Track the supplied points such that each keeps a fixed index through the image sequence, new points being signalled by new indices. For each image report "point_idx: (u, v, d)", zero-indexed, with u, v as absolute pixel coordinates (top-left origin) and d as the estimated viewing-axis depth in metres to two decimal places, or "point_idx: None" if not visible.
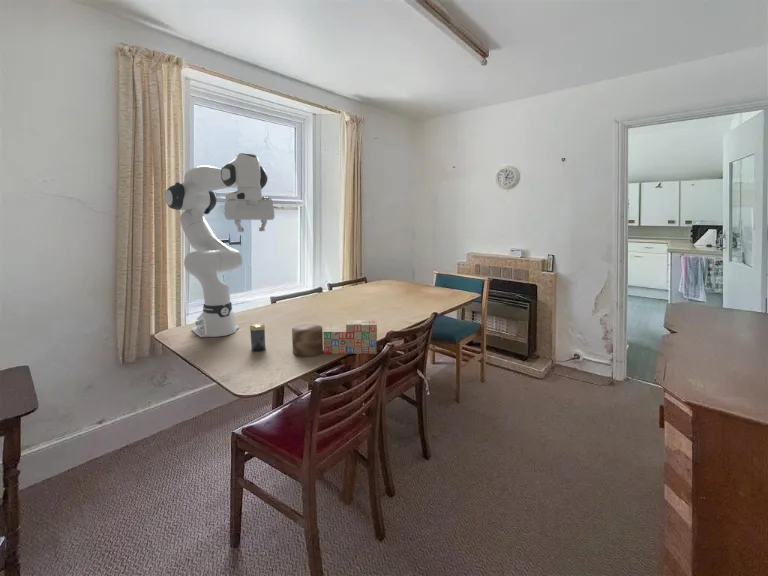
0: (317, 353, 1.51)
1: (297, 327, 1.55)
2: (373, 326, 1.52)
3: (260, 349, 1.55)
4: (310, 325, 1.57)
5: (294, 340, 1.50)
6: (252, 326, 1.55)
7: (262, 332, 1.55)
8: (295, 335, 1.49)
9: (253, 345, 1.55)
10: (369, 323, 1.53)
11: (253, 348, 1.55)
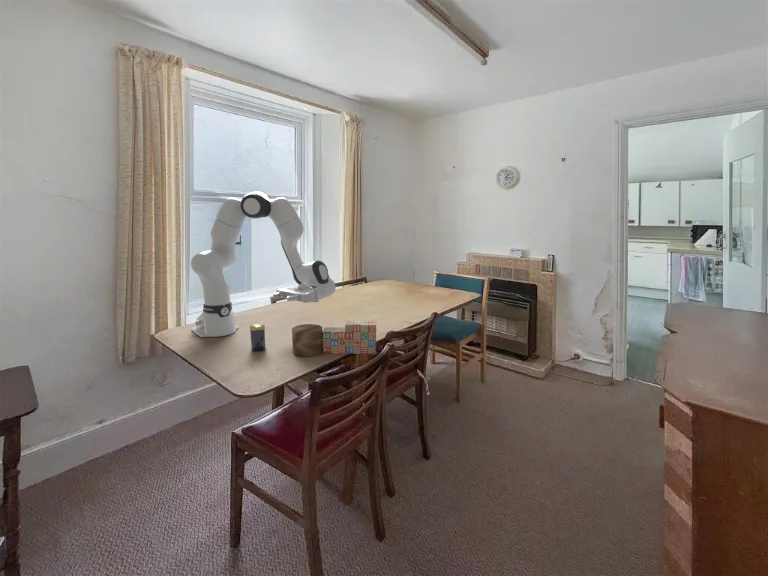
0: (317, 353, 1.51)
1: (297, 327, 1.55)
2: (372, 326, 1.52)
3: (260, 349, 1.55)
4: (310, 325, 1.57)
5: (294, 340, 1.50)
6: (252, 326, 1.55)
7: (262, 332, 1.55)
8: (295, 335, 1.49)
9: (253, 345, 1.55)
10: (368, 323, 1.53)
11: (253, 348, 1.55)
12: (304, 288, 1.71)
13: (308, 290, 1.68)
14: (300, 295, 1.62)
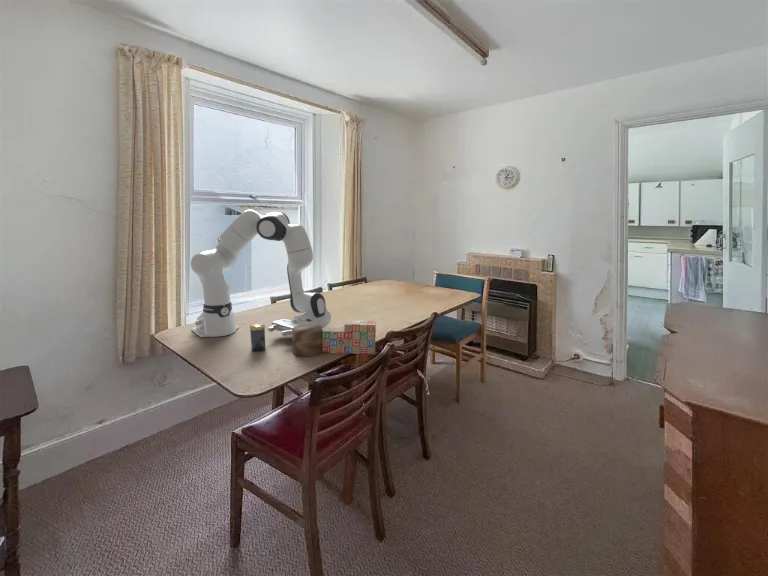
0: (317, 353, 1.51)
1: (297, 327, 1.55)
2: (371, 326, 1.52)
3: (260, 349, 1.55)
4: (310, 325, 1.57)
5: (294, 340, 1.50)
6: (252, 326, 1.55)
7: (262, 332, 1.55)
8: (295, 335, 1.49)
9: (253, 345, 1.55)
10: (367, 323, 1.53)
11: (253, 348, 1.55)
12: (299, 321, 1.71)
13: (303, 324, 1.68)
14: None
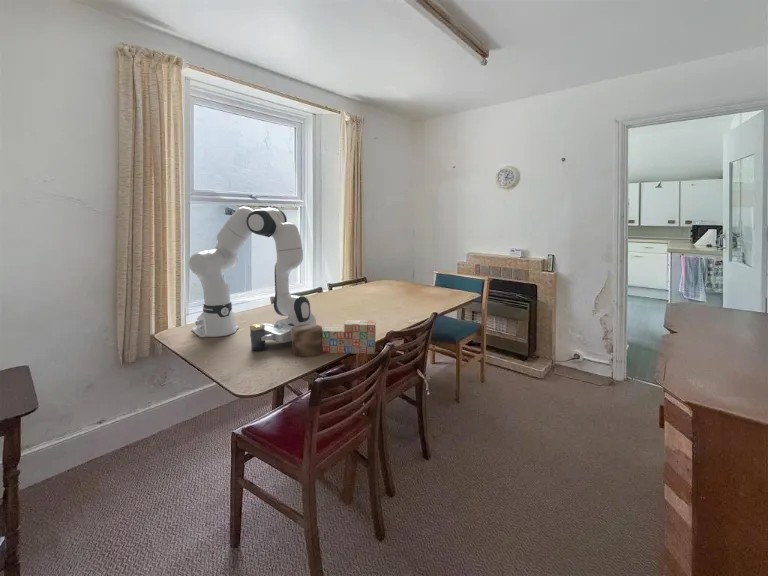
0: (317, 353, 1.51)
1: (297, 327, 1.55)
2: (371, 326, 1.52)
3: (260, 349, 1.55)
4: (310, 325, 1.57)
5: (294, 340, 1.50)
6: (252, 326, 1.55)
7: (262, 332, 1.55)
8: (295, 335, 1.49)
9: (253, 345, 1.55)
10: (367, 323, 1.53)
11: (253, 348, 1.55)
12: (281, 326, 1.63)
13: (285, 328, 1.61)
14: (276, 335, 1.55)
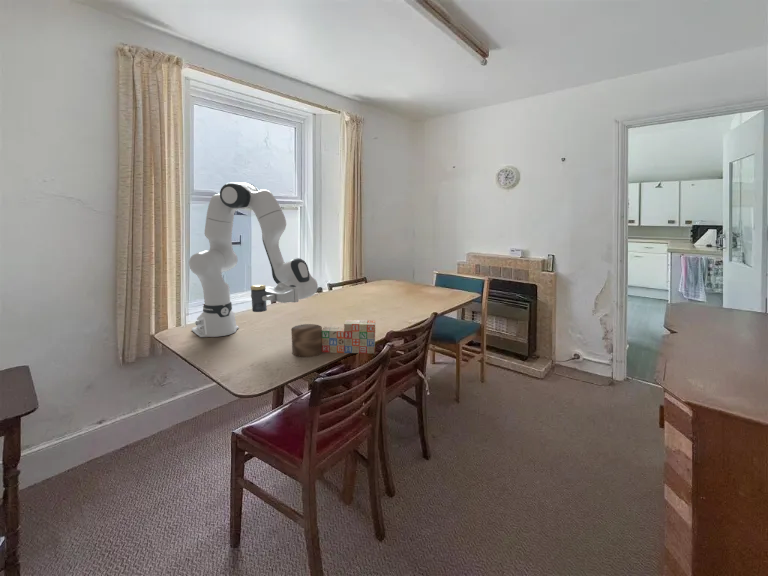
0: (317, 353, 1.51)
1: (296, 327, 1.55)
2: (371, 326, 1.52)
3: (261, 309, 1.52)
4: (309, 325, 1.57)
5: (294, 340, 1.50)
6: (253, 286, 1.52)
7: (263, 292, 1.52)
8: (295, 335, 1.49)
9: (254, 306, 1.52)
10: (367, 323, 1.54)
11: (254, 308, 1.52)
12: (283, 287, 1.60)
13: (287, 289, 1.57)
14: (277, 295, 1.52)
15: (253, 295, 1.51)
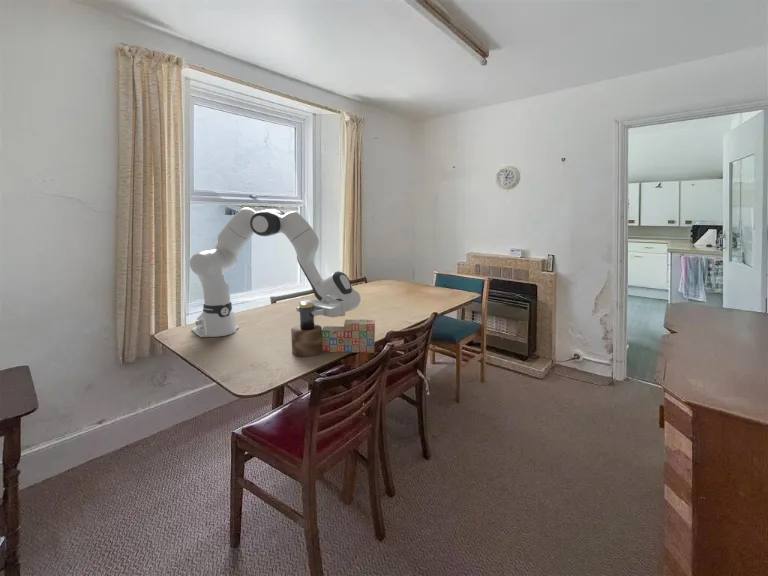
0: (316, 353, 1.51)
1: (296, 327, 1.55)
2: (371, 325, 1.53)
3: (310, 327, 1.51)
4: None
5: (293, 340, 1.50)
6: (301, 304, 1.51)
7: (312, 310, 1.51)
8: (294, 335, 1.49)
9: (302, 324, 1.51)
10: (367, 322, 1.55)
11: (303, 326, 1.51)
12: (329, 301, 1.59)
13: (334, 303, 1.56)
14: (326, 309, 1.51)
15: (302, 313, 1.50)
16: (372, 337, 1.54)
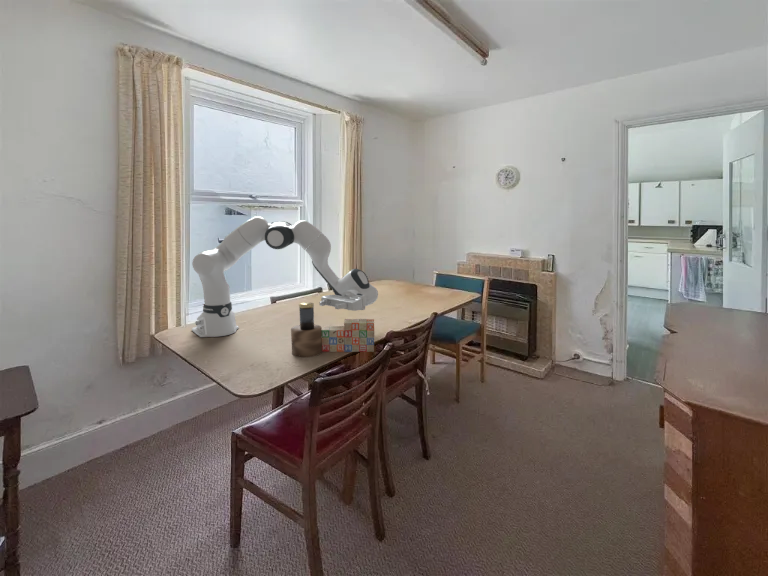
0: (316, 353, 1.51)
1: (296, 327, 1.55)
2: (370, 324, 1.54)
3: (309, 327, 1.51)
4: None
5: (293, 340, 1.50)
6: (301, 304, 1.51)
7: (312, 310, 1.51)
8: (294, 335, 1.49)
9: (302, 324, 1.51)
10: (367, 321, 1.56)
11: (302, 326, 1.51)
12: (350, 296, 1.68)
13: (355, 298, 1.65)
14: (348, 303, 1.60)
15: (302, 313, 1.50)
16: (372, 336, 1.55)
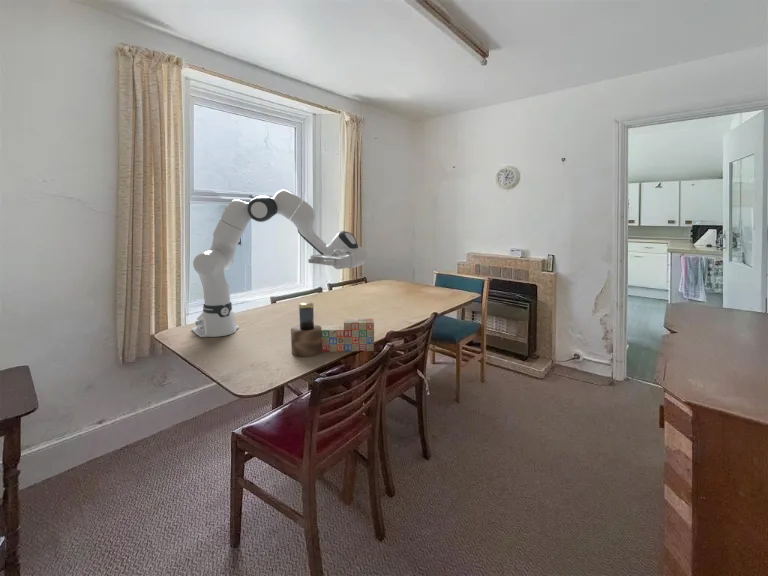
0: (316, 353, 1.51)
1: (296, 327, 1.55)
2: (370, 324, 1.55)
3: (309, 328, 1.51)
4: None
5: (293, 340, 1.50)
6: (301, 304, 1.51)
7: (311, 310, 1.51)
8: (294, 335, 1.49)
9: (302, 324, 1.51)
10: (366, 321, 1.57)
11: (302, 327, 1.51)
12: (339, 254, 1.70)
13: (343, 255, 1.67)
14: (336, 259, 1.62)
15: (302, 313, 1.50)
16: (372, 335, 1.56)
